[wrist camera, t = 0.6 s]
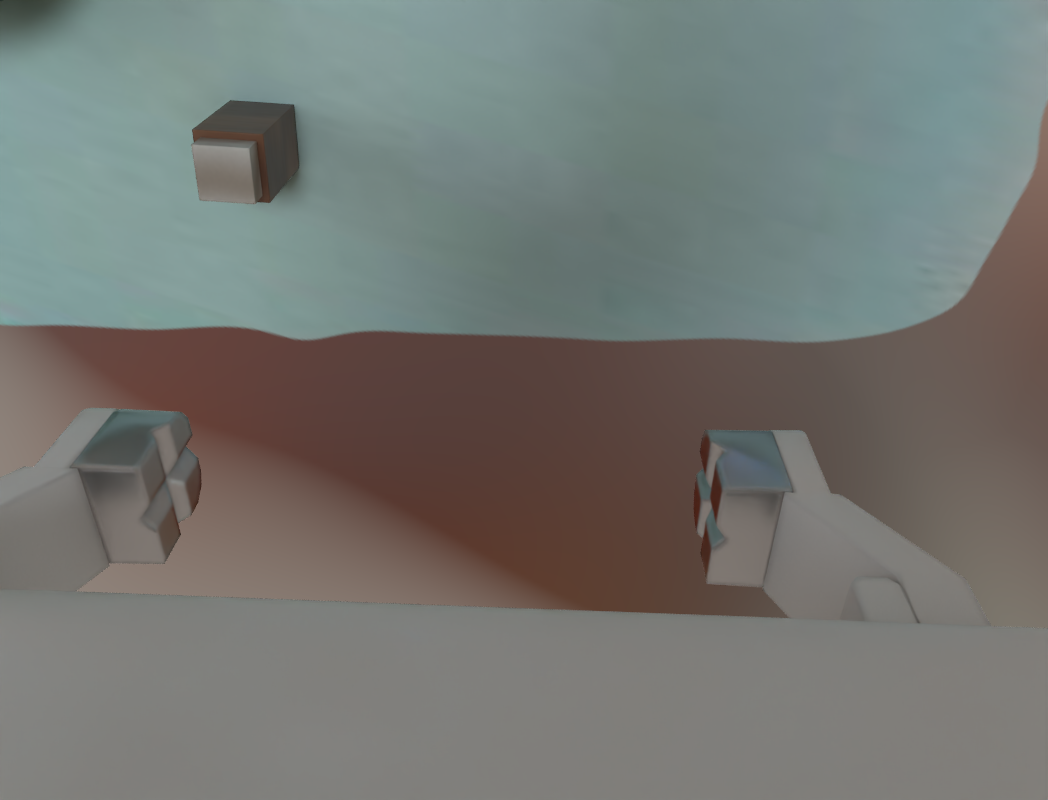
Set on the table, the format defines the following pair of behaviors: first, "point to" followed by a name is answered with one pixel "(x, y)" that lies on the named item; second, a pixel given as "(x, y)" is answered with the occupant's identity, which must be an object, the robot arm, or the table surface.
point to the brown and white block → (245, 152)
